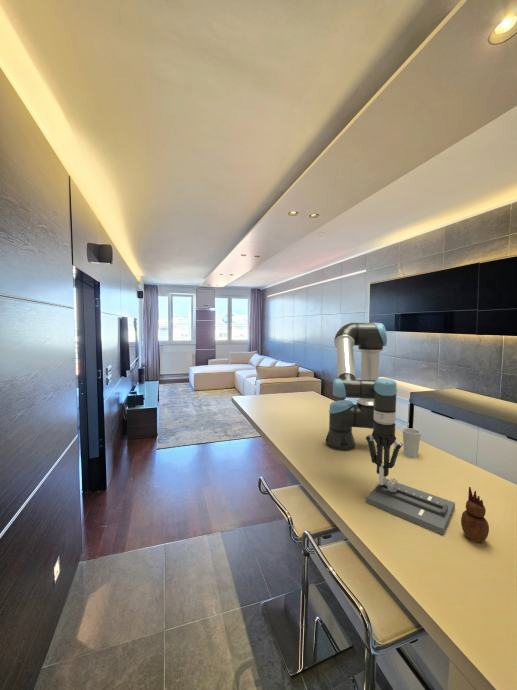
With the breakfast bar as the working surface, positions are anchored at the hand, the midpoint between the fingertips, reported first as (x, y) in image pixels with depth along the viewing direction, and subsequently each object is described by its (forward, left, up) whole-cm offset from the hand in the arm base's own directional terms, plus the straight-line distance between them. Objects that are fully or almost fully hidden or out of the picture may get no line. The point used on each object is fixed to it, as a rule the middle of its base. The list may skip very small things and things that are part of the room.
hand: (382, 483), depth 110 cm
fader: (+4, 0, -2) cm, 4 cm away
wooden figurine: (+29, -4, -5) cm, 29 cm away
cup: (-2, +44, -5) cm, 45 cm away
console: (+10, 0, -5) cm, 11 cm away
